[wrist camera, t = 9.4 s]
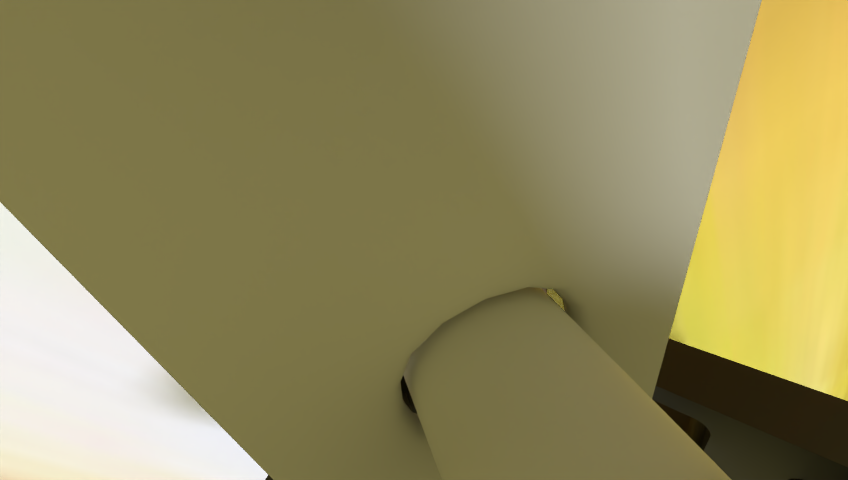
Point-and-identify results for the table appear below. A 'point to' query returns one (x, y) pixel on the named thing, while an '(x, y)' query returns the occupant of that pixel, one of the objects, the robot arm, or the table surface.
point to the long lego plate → (385, 215)
